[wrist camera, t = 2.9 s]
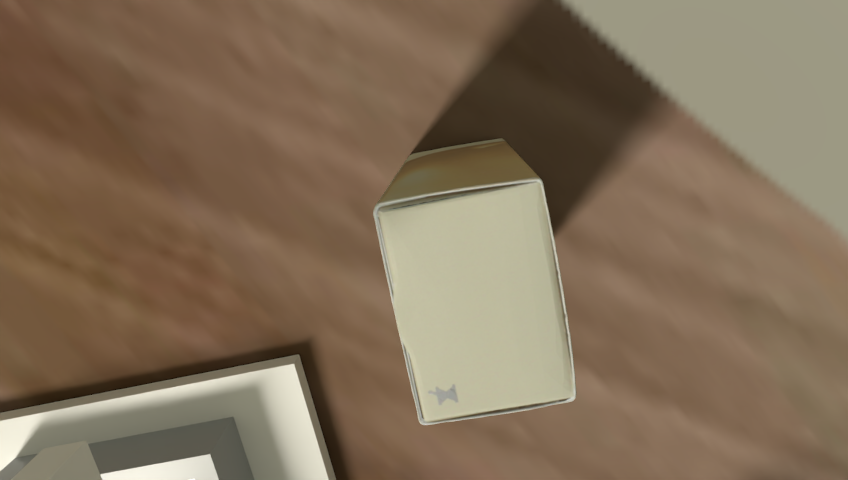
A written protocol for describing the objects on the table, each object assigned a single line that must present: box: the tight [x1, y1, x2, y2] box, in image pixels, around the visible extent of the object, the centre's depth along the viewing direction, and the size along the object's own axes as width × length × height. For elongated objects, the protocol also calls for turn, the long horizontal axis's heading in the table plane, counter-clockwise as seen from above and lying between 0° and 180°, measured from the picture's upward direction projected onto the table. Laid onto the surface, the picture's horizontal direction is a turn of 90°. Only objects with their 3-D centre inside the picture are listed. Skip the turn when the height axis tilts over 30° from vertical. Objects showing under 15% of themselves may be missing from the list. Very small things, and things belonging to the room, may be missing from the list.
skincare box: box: [373, 138, 576, 425], centre depth 22 cm, size 6×4×12 cm
